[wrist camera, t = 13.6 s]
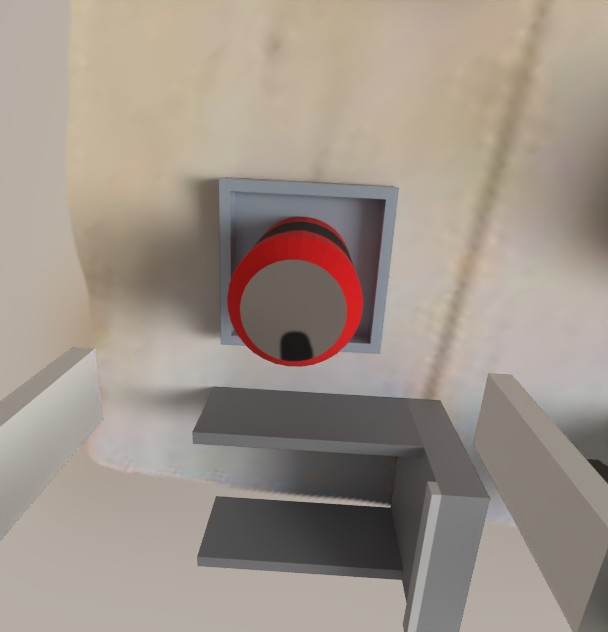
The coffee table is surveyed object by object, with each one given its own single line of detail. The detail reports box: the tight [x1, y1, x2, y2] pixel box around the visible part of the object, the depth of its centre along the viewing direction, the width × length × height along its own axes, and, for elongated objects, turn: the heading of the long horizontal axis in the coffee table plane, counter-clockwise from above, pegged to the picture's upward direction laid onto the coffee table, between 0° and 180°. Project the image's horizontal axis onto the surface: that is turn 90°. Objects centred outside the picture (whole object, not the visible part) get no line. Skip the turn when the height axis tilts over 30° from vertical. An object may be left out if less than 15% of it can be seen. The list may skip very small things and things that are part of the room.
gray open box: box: [193, 387, 490, 632], centre depth 35 cm, size 13×20×12 cm, turn 87°
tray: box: [219, 177, 399, 354], centre depth 34 cm, size 13×13×2 cm
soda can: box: [227, 217, 363, 366], centre depth 29 cm, size 8×8×12 cm
